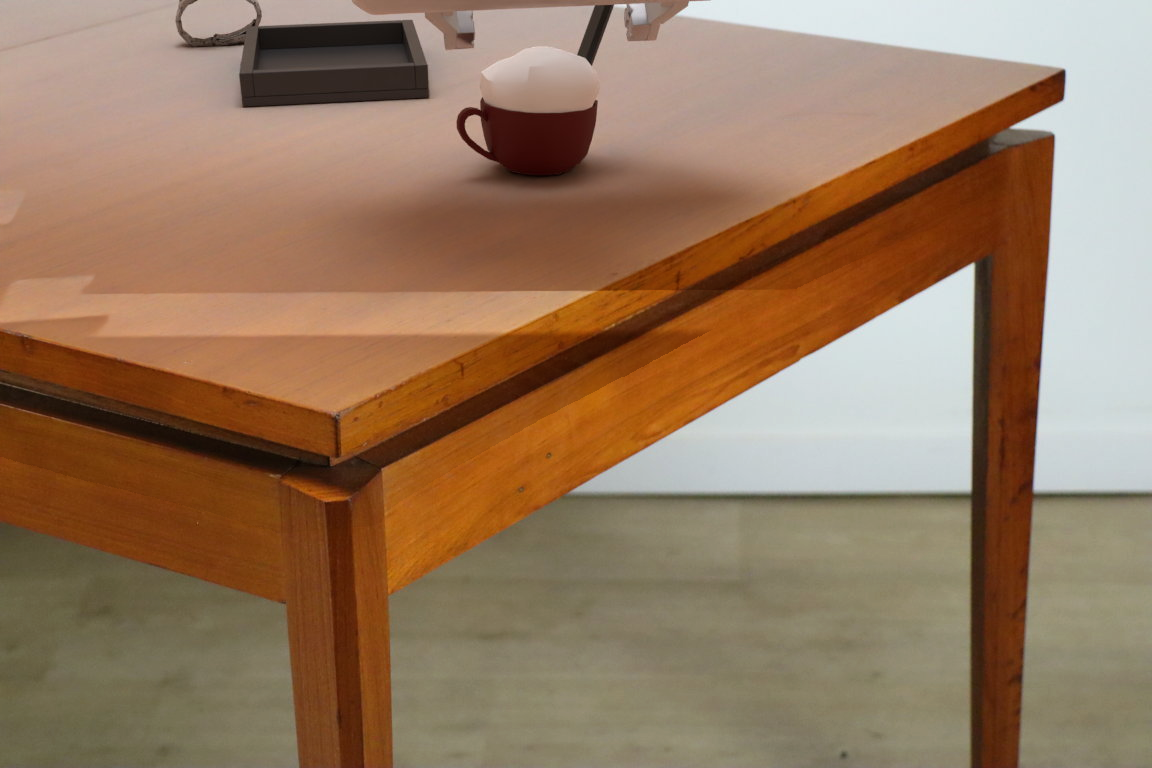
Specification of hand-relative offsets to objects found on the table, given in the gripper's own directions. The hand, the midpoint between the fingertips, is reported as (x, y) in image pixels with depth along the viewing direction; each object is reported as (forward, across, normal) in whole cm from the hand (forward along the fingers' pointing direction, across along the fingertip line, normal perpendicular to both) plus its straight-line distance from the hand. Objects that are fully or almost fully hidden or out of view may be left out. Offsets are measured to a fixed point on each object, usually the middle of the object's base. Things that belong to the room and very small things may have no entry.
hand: (549, 34), depth 78 cm
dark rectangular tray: (+22, +11, -12) cm, 28 cm away
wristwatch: (+31, +19, -21) cm, 42 cm away
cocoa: (+6, 0, +5) cm, 7 cm away
